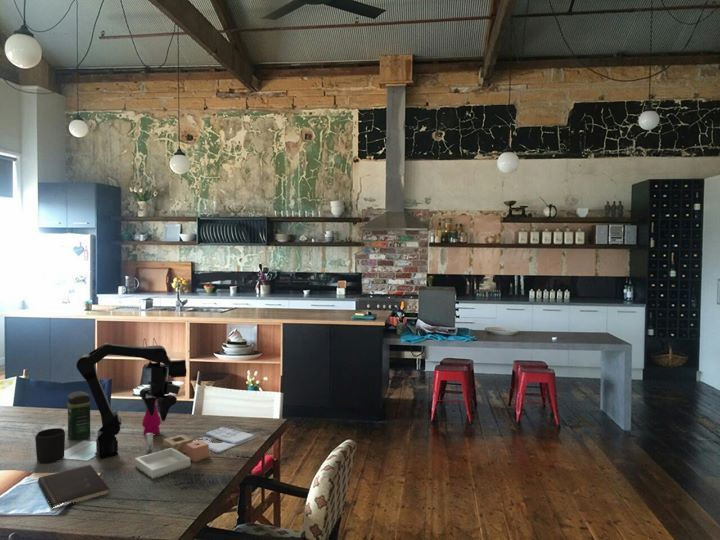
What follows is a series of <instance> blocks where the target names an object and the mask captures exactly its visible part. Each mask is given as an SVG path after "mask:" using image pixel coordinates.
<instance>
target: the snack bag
mask: <svg viewBox="0 0 720 540" xmlns="http://www.w3.org/2000/svg"><path fill="white" fill-rule="evenodd" d="M204 436H205V437H204ZM204 436H202V437H200V438H199V439H203V440H201V441H203V442H205V443H207V444H209V451H211V452H213V453H214V454H220V453H221V454H222V453H223V452H225V450H226V451H228V450H230V449H232V447H233V448H236V447H237V446H241V445H243V444H245V443H247V442H249V441H252V440H254V439H255V437H254V436H255V434H252V433H249V432H245V431H240V430H236V429H232V428H227V427H224V426H221V427H219V428H216V429H213V430H210V431H207V432H205V435H204ZM208 437H210V438H211V439H212V438H215V439H218V440H217V441H221V442H222V443H212V442H210V441H211V439H210V438H208ZM206 439H208V440H206ZM195 440H196V441H198V440H197V439H195ZM195 440H193V442H195ZM209 440H210V441H209ZM227 449H228V450H227Z"/></svg>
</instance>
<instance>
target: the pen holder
mask: <svg viewBox="0 0 720 540" xmlns="http://www.w3.org/2000/svg"><path fill="white" fill-rule="evenodd" d="M34 438H35V439H34V440H35V452H36V462H37V463H38V464H41V465H45V464H47V465H48V464H54V463H57V462H59V460H60V461H62V460H63V459H64V457H65V449H66V444H65V443H66V431H65V429H63V428H59V427H58V428H57V427H54V428H47V429H44V430H43V429H42V430H40V431H39V432H37V433H36V435H35V437H34ZM62 458H63V459H62Z"/></svg>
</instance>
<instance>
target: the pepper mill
mask: <svg viewBox="0 0 720 540" xmlns="http://www.w3.org/2000/svg"><path fill="white" fill-rule="evenodd" d="M148 388H150V386H149V387H148ZM157 405H158V403H157V400H156V401H155V408H154V414H153V415H152V416H151V415H150V413H149V411H148V409H147V407H146V405H145V404H144V406H145V407H146V408H145V414H144V417H143V419H142V424H141V425H142V427H143V428H144V429H143V435H144V434H145V435H144V436H146V434H147V433H153V434H156V435H158V434H160V431H161V430H160V425H161V423H162V420H161V417H160V414H159V412H158V407H157ZM157 433H158V434H157Z"/></svg>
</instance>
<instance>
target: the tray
mask: <svg viewBox="0 0 720 540" xmlns="http://www.w3.org/2000/svg"><path fill="white" fill-rule="evenodd" d="M191 461H192V460H191V458H189V457H187V456H186V454H185V453H181V452H179V451H177V450H175V449H174V448H169V449H165V450H163V449H162V450H159V451H156V452H153V453H151V454H145V455H142V456H141V455H140V456H137V457H135V458H134V467H135V466H136V467H137V468H136V467H135V468H136V469H138V468H139V469H140V470H139V469H138V470H139V471H141V472H142V471H143V472H144V473H143V472H142V473H143V474H145V475H146V474H147V475H146V476H148V477H149V478H150V477H151V479H152V480H154V479H156V477H157V478H159V477H163V476H165V474H166V475H168V473H169V474H172V473H175V472H178V471H181V470H184V469H187V468H189V467H191ZM183 468H184V469H183ZM180 469H181V470H180ZM177 470H178V471H177ZM174 471H175V472H174ZM171 472H172V473H171ZM153 478H154V479H153Z"/></svg>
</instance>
